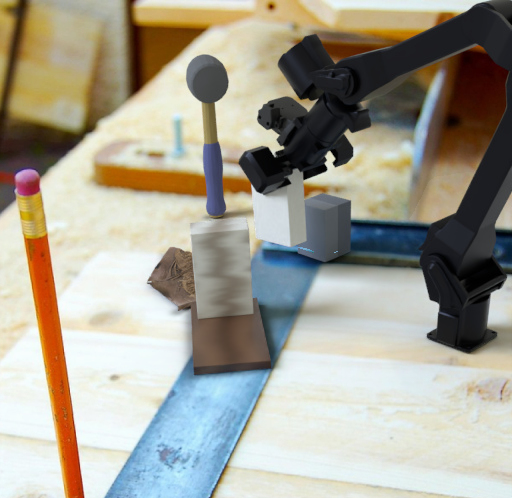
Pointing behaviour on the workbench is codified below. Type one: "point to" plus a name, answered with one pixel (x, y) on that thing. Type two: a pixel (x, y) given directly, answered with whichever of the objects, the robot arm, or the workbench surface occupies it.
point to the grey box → (327, 227)
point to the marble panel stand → (225, 300)
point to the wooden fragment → (175, 277)
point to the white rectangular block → (281, 213)
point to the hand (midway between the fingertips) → (271, 189)
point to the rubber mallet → (210, 124)
